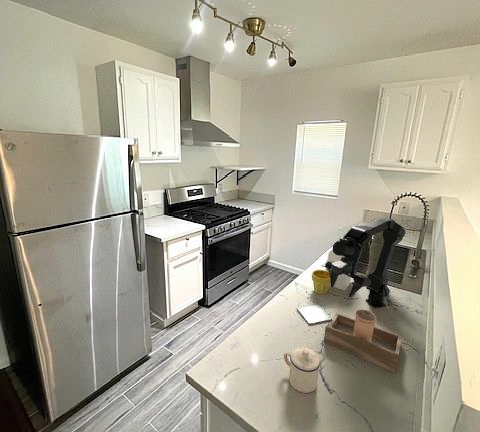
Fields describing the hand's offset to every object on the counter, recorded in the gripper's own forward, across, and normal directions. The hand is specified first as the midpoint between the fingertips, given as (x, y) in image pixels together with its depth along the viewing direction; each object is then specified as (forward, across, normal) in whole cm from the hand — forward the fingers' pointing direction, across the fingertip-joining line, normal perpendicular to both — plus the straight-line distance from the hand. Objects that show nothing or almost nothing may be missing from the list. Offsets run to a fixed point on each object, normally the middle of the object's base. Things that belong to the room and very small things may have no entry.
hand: (340, 292), depth 109 cm
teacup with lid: (+23, +14, -29) cm, 40 cm away
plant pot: (+10, -21, +15) cm, 28 cm away
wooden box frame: (+14, +14, +1) cm, 20 cm away
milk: (+6, -23, +30) cm, 38 cm away
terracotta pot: (+14, +14, 0) cm, 20 cm away
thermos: (+2, -11, +45) cm, 46 cm away
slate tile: (+15, -8, -2) cm, 17 cm away
